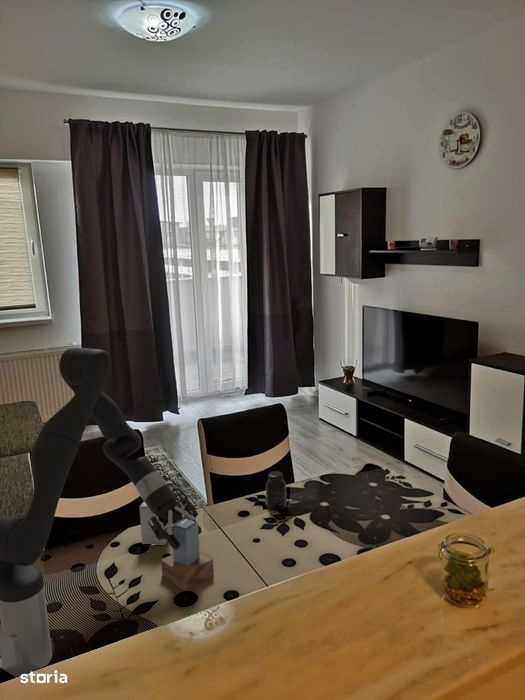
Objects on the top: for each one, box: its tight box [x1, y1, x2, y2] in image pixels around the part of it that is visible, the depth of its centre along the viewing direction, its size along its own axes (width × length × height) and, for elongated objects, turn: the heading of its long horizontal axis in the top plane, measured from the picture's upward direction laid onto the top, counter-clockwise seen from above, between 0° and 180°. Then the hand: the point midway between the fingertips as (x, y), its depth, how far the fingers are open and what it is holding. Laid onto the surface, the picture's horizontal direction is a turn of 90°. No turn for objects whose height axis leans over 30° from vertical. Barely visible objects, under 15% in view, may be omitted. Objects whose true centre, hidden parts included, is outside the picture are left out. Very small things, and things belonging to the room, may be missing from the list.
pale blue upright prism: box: [172, 518, 201, 566], centre depth 152 cm, size 5×5×11 cm
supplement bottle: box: [265, 470, 288, 512], centre depth 192 cm, size 7×7×12 cm
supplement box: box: [139, 501, 168, 545], centre depth 172 cm, size 7×7×13 cm
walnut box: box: [160, 550, 215, 591], centre depth 153 cm, size 10×10×5 cm
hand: (189, 540), depth 151 cm, fingers open, 8 cm apart
